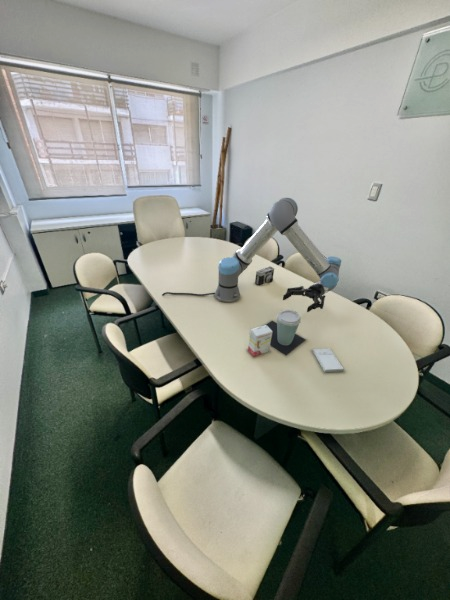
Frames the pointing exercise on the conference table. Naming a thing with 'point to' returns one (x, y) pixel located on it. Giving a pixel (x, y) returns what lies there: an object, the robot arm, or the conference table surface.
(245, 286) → the conference table surface
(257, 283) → the camera
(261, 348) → the ink box
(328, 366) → the hard drive
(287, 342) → the disposable coffee cup
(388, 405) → the conference table surface
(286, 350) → the mat
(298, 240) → the robot arm
